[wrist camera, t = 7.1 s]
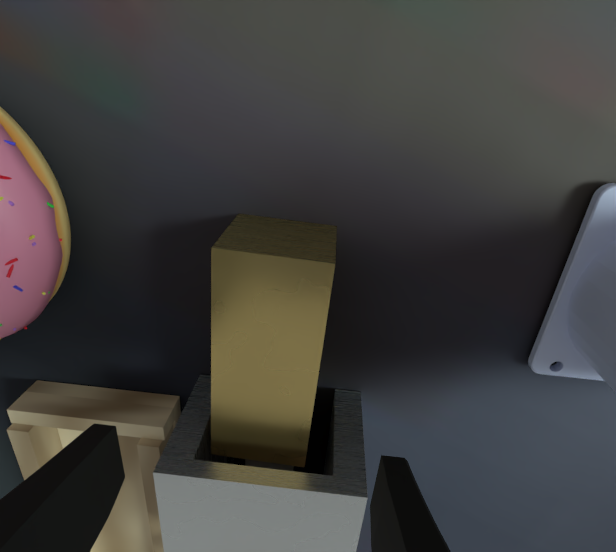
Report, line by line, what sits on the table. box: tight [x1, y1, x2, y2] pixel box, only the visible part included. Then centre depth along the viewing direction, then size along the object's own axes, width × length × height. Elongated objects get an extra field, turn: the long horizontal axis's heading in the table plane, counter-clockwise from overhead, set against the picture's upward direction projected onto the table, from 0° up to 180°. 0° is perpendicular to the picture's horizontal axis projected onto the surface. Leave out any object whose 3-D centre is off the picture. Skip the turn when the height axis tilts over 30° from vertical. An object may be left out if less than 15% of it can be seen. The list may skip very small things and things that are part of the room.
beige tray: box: [7, 380, 181, 552], centre depth 22 cm, size 7×14×2 cm, turn 176°
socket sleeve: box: [153, 374, 368, 552], centre depth 18 cm, size 8×7×5 cm
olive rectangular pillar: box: [211, 214, 337, 467], centre depth 16 cm, size 9×4×4 cm, turn 174°
